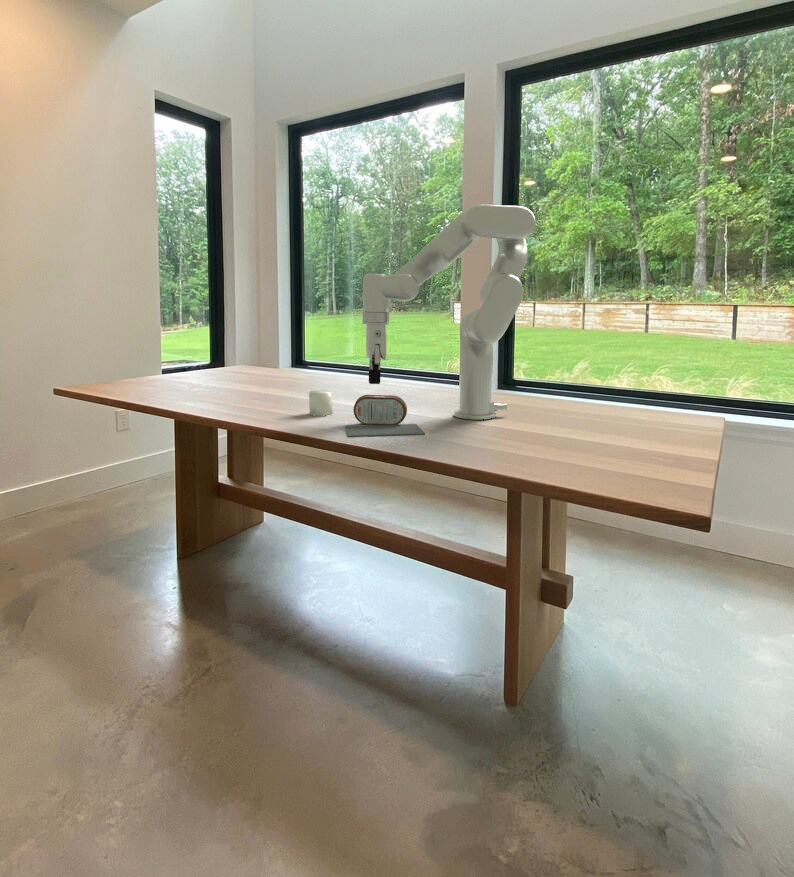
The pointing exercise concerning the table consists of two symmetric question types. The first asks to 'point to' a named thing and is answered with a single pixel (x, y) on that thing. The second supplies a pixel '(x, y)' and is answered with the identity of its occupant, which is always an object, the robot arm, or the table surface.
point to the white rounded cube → (320, 402)
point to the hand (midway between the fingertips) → (374, 383)
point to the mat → (384, 430)
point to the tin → (380, 410)
